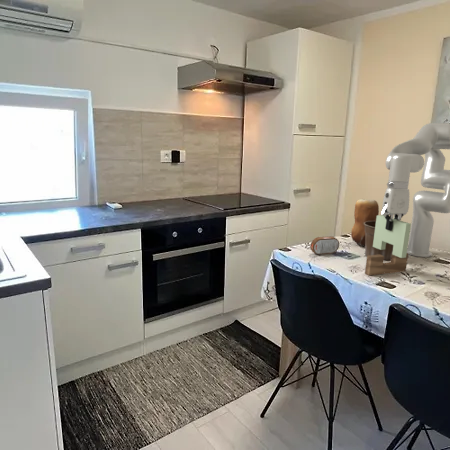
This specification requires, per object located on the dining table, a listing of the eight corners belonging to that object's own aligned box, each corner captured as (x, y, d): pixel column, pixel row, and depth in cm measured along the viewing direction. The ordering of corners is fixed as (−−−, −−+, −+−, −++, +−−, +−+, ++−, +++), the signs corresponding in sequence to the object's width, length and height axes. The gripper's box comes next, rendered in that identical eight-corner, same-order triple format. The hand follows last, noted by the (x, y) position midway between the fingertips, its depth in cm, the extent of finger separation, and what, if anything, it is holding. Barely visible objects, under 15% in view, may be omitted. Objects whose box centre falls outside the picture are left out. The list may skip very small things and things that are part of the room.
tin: (335, 251, 185) (337, 235, 183) (339, 253, 182) (341, 237, 180) (309, 253, 180) (310, 237, 179) (312, 255, 178) (314, 238, 176)
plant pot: (371, 262, 170) (375, 228, 166) (353, 251, 186) (357, 220, 182) (403, 261, 173) (408, 228, 169) (383, 251, 188) (387, 220, 184)
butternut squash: (361, 240, 206) (367, 196, 201) (382, 247, 195) (388, 200, 189) (344, 243, 199) (349, 197, 194) (364, 250, 188) (370, 202, 182)
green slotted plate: (372, 246, 163) (376, 215, 159) (377, 246, 163) (381, 215, 160) (401, 258, 148) (406, 224, 145) (405, 257, 149) (411, 223, 146)
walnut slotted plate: (364, 273, 156) (367, 255, 154) (401, 269, 163) (403, 251, 161) (368, 275, 153) (371, 257, 151) (405, 271, 160) (408, 253, 158)
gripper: (389, 187, 143) (383, 233, 147) (420, 186, 149) (413, 230, 153) (375, 184, 150) (369, 228, 154) (405, 183, 155) (399, 226, 160)
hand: (391, 229), depth 153 cm, fingers closed on green slotted plate, 2 cm apart
